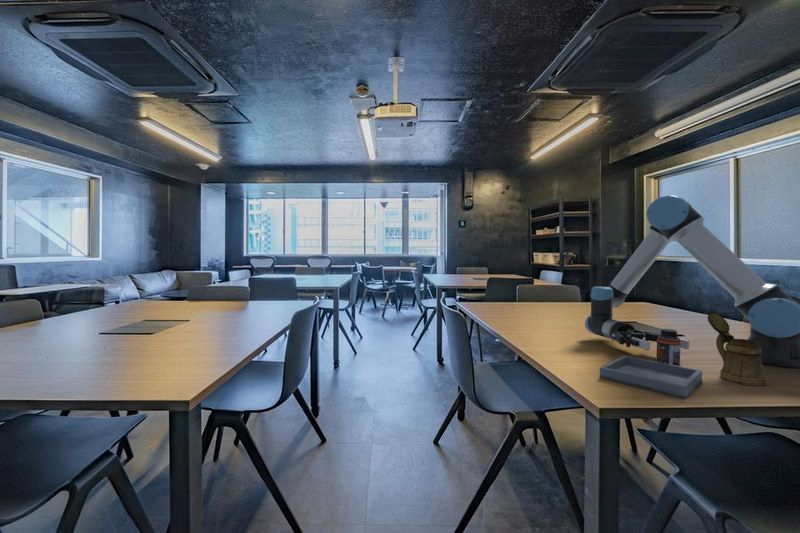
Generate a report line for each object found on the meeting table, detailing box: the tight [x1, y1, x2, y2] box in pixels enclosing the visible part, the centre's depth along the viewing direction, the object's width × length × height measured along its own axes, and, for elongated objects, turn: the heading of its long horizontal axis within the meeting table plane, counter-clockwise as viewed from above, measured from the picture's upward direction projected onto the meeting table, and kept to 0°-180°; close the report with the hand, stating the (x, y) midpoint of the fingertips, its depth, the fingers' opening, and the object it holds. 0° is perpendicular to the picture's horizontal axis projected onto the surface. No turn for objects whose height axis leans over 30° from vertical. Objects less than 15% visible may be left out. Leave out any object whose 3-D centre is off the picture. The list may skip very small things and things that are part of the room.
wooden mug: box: [707, 310, 767, 387], centre depth 100 cm, size 9×14×18 cm, turn 12°
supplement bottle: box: [655, 328, 681, 366], centre depth 111 cm, size 6×6×11 cm
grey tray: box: [599, 355, 703, 400], centre depth 98 cm, size 19×19×3 cm
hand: (668, 345), depth 111 cm, fingers open, 13 cm apart
